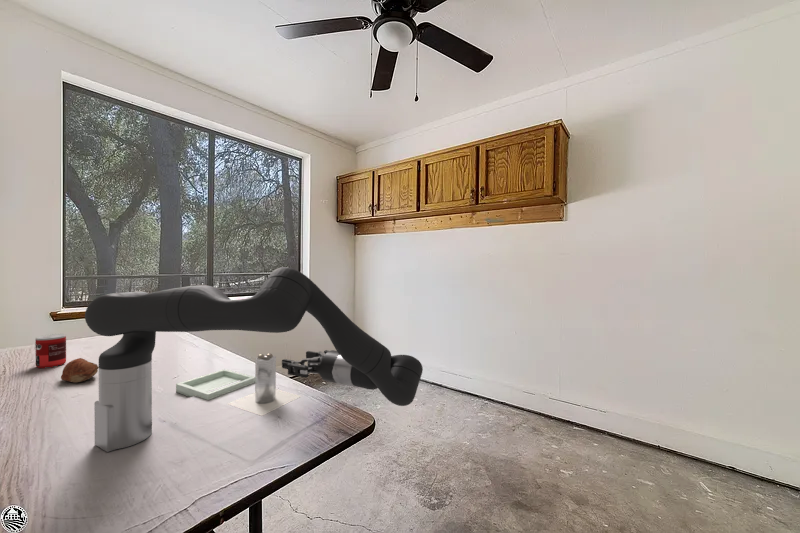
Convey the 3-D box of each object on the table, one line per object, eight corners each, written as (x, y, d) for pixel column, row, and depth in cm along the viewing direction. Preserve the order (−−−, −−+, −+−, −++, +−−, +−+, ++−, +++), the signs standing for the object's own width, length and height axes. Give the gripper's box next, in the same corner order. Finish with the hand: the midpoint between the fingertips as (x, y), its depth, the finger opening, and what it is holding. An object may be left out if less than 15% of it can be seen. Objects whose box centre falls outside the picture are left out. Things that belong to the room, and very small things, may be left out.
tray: (207, 403, 93) (207, 394, 93) (176, 392, 100) (176, 383, 100) (256, 384, 107) (256, 377, 107) (225, 376, 115) (225, 368, 115)
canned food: (42, 363, 125) (42, 334, 125) (70, 361, 128) (70, 333, 128) (30, 369, 118) (30, 339, 118) (60, 367, 122) (60, 337, 121)
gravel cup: (264, 405, 90) (264, 358, 90) (250, 401, 92) (251, 355, 92) (279, 398, 95) (280, 353, 94) (266, 394, 97) (267, 350, 97)
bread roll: (56, 368, 110) (76, 343, 111) (86, 372, 117) (105, 349, 118) (54, 392, 102) (76, 365, 103) (87, 396, 108) (107, 370, 109)
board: (261, 419, 84) (261, 415, 84) (226, 407, 91) (226, 403, 91) (301, 399, 96) (301, 396, 96) (268, 390, 103) (268, 386, 103)
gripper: (360, 346, 87) (313, 339, 94) (324, 360, 74) (273, 351, 82) (360, 374, 87) (313, 365, 94) (324, 393, 74) (273, 381, 82)
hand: (295, 358), depth 88 cm, fingers open, 8 cm apart
